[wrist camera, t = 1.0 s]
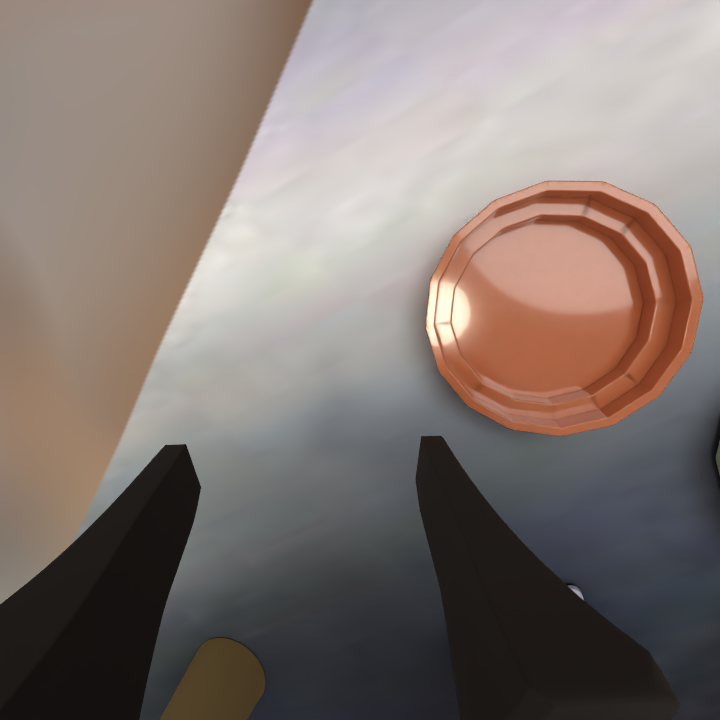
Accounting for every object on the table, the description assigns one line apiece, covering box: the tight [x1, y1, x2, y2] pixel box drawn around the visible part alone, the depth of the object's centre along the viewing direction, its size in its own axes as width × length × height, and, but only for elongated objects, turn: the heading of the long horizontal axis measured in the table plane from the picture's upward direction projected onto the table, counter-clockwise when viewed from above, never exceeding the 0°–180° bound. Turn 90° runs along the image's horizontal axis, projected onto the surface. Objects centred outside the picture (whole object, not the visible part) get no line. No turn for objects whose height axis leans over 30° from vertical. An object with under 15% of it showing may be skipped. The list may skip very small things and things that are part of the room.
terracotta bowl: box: [425, 181, 703, 436], centre depth 20 cm, size 12×12×3 cm
